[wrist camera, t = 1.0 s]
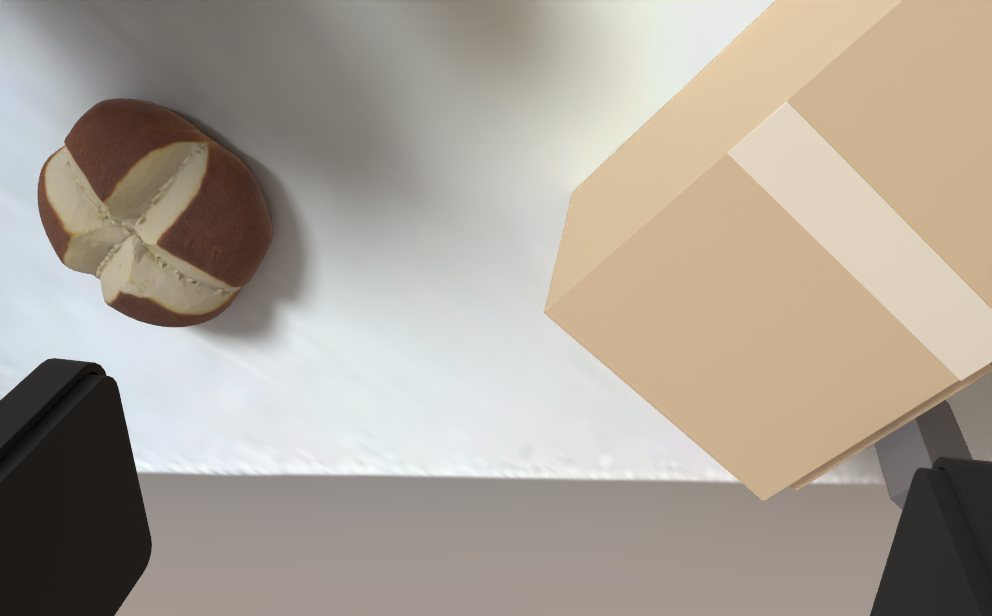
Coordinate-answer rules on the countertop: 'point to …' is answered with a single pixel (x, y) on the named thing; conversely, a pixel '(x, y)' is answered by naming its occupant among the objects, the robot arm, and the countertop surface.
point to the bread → (154, 213)
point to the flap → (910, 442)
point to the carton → (797, 234)
